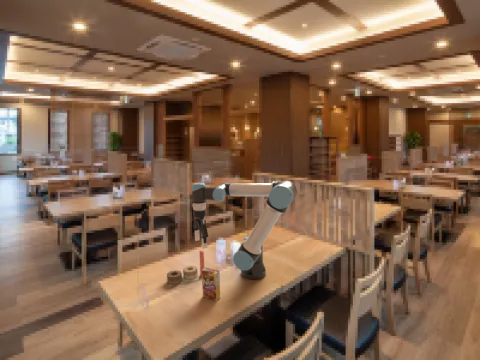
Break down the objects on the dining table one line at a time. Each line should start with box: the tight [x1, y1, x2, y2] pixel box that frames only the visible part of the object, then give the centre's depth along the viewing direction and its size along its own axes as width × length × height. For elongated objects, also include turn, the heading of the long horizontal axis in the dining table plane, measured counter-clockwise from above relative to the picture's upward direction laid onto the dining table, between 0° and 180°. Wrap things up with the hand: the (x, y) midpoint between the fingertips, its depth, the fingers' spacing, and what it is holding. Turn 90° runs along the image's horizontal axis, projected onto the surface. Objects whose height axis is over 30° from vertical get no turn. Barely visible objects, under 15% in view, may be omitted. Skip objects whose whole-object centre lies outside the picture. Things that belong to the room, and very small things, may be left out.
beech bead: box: [182, 265, 199, 280], centre depth 177 cm, size 8×8×5 cm
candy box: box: [201, 267, 221, 302], centre depth 154 cm, size 9×4×15 cm, turn 61°
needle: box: [199, 249, 206, 277], centre depth 177 cm, size 3×3×16 cm
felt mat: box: [165, 274, 200, 287], centre depth 174 cm, size 18×10×1 cm, turn 114°
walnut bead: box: [166, 270, 183, 286], centre depth 171 cm, size 8×8×5 cm
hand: (201, 244), depth 174 cm, fingers open, 13 cm apart
